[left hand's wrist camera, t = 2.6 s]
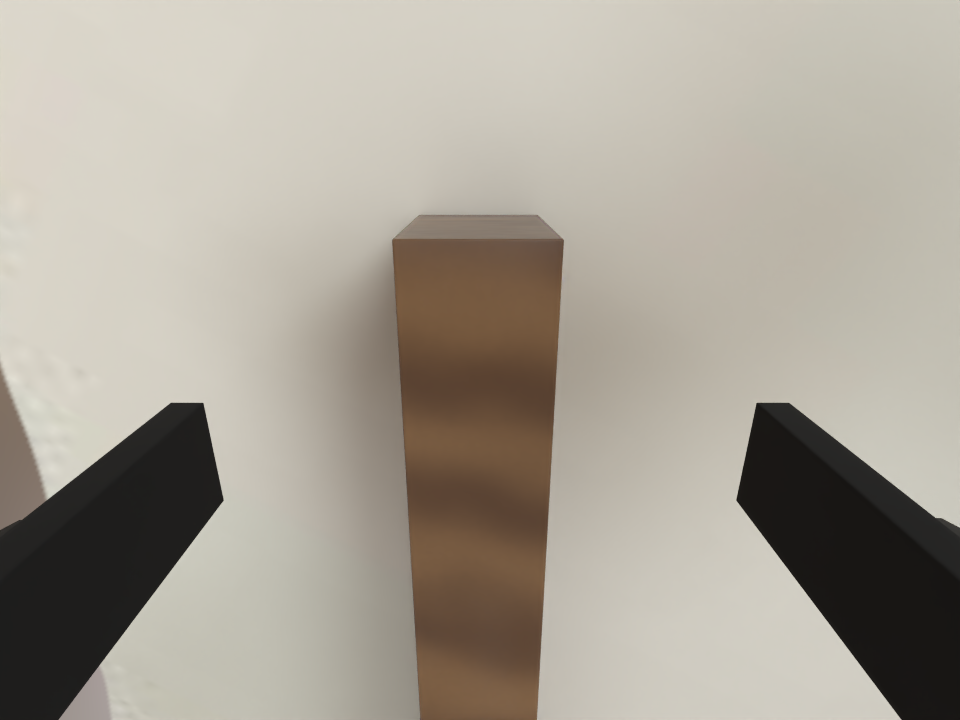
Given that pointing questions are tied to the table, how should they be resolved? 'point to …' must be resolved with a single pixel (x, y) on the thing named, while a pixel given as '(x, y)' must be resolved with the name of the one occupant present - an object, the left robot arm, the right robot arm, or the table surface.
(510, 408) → the beam
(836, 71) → the table surface
